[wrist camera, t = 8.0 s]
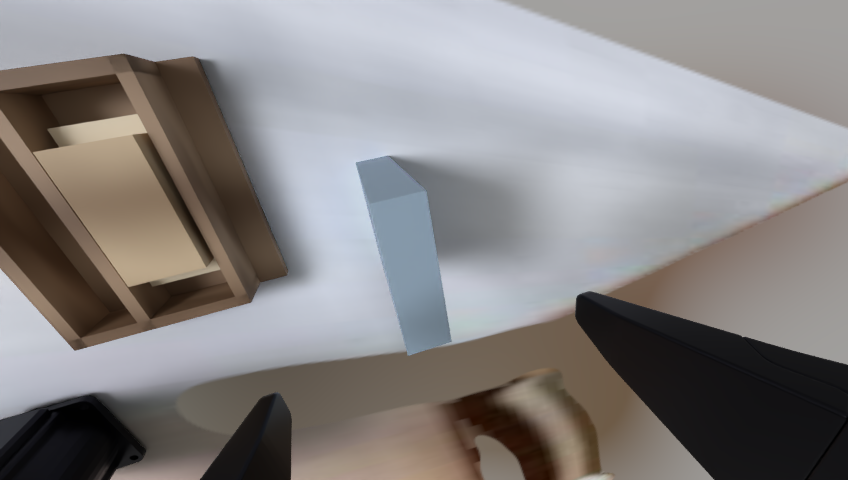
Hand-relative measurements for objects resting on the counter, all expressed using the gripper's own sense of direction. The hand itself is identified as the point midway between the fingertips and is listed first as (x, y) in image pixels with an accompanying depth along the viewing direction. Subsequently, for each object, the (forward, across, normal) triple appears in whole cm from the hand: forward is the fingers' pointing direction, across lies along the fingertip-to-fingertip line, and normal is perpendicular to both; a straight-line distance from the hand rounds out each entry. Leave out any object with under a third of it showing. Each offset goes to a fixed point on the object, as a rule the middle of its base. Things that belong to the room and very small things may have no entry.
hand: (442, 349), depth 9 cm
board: (+12, 0, 0) cm, 13 cm away
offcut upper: (+10, +11, -4) cm, 16 cm away
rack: (+12, +12, -4) cm, 18 cm away
